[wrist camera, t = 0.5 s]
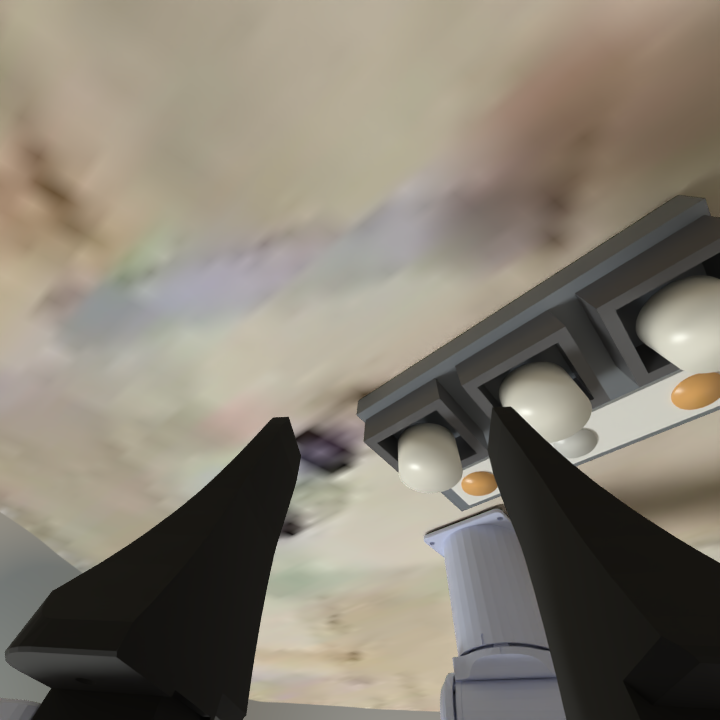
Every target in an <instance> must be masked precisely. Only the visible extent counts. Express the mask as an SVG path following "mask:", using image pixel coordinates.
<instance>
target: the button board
mask: <svg viewBox="0 0 720 720" xmlns="http://www.w3.org/2000/svg"><path fill="white" fill-rule="evenodd" d="M697 275H706V276H712V277H715V278H718V279H720V218H718V217H713V216H711V215H710V212H709V209H708V206H707V202H706V199H705V198H699V197H690V196H682V195H678V196H676V197H675V198H673V199H671V200H670V201H668V202H667V203H665V204H664V205H662V206H661V207H659V208H657V209H656V210H654V211H653V212H651V213H650V214H648V215H647V216H645V217H643V218H642V219H640V220H639V221H637V222H636V223H634V224H633V225H631V226H629V227H628V228H626V229H625V230H623V231H622V232H620V233H619V234H617V235H616V236H614V237H612V238H611V239H609V240H608V241H606V242H605V243H603V244H602V245H600V246H598V247H597V248H595V249H594V250H592V251H591V252H589V253H588V254H586V255H584V256H583V257H581V258H580V259H578V260H577V261H575V262H574V263H572V264H570V265H569V266H567V267H566V268H564V269H563V270H561V271H560V272H558V273H556V274H555V275H553V276H552V277H550V278H549V279H547V280H546V281H544V282H542V283H541V284H539V285H538V286H536V287H535V288H533V289H532V290H530V291H528V292H527V293H525V294H524V295H522V296H521V297H519V298H518V299H516V300H514V301H513V302H511V303H510V304H508V305H507V306H505V307H504V308H502V309H500V310H499V311H497V312H496V313H494V314H493V315H491V316H490V317H488V318H486V319H485V320H483V321H482V322H480V323H479V324H477V325H476V326H474V327H472V328H471V329H469V330H468V331H466V332H465V333H463V334H462V335H460V336H458V337H457V338H455V339H454V340H452V341H451V342H449V343H448V344H446V345H444V346H443V347H441V348H440V349H438V350H437V351H435V352H434V353H432V354H430V355H429V356H427V357H426V358H424V359H423V360H421V361H420V362H418V363H416V364H415V365H413V366H412V367H410V368H409V369H407V370H406V371H404V372H402V373H401V374H399V375H398V376H396V377H395V378H393V379H392V380H390V381H388V382H387V383H385V384H384V385H382V386H381V387H379V388H378V389H376V390H374V391H373V392H371V393H370V394H368V395H367V396H365V397H364V398H362V399H361V400H359V401H358V407H357V416H358V417H359V418H360V419H361V420H363V421H364V422H365V432H364V442H365V443H366V444H367V445H368V446H369V447H370V448H371V449H372V450H374V451H375V452H376V453H377V454H378V455H379V456H380V457H382V458H383V459H384V460H385V461H386V462H387V463H388V464H390V465H391V466H392V467H393V468H394V469H395V470H396V471H397V472H399V467H398V440H399V437H400V436H401V434H402V433H403V432H404V431H405V430H406V429H408V428H410V427H412V426H414V425H418V424H423V423H432V424H438V425H441V426H443V427H445V428H447V429H448V430H450V431H451V432H452V434H453V435H454V437H455V440H456V444H457V448H458V452H459V456H460V461H461V465H462V469H463V475H462V478H461V480H460V481H459V482H458V483H457V484H456V485H455V486H454V487H452V488H451V489H449V490H446V491H443V492H441V493H442V494H443V495H445V496H446V497H447V498H448V499H449V500H450V501H451V502H452V503H453V504H454V505H455V506H457V507H458V508H459V509H460V510H461V511H464V510H467V509H469V508H472V507H474V506H477V505H479V504H482V503H484V502H487V501H489V500H492V499H494V498H497V497H499V496H501V494H500V491H499V489H498V486H497V484H496V481H495V478H494V474H493V471H492V467H491V463H490V459H489V455H488V450H487V449H488V440H489V431H490V422H491V413H492V407H503V406H502V404H501V402H500V399H499V389H500V386H501V383H502V382H503V380H504V379H505V378H506V376H507V375H508V374H509V373H511V372H512V371H513V370H515V369H516V368H518V367H520V366H523V365H525V364H528V363H533V362H550V363H554V364H556V365H559V366H560V367H562V368H563V369H564V370H565V371H566V372H567V373H568V375H569V376H570V377H571V378H572V379H573V381H574V382H575V383H576V384H577V385H578V387H579V388H580V389H581V390H582V391H583V392H584V394H585V395H586V396H587V397H588V398H589V400H590V402H591V405H592V412H591V416H590V418H589V420H588V422H587V423H586V425H585V426H584V427H583V428H582V429H581V430H580V431H578V432H577V433H576V434H574V435H572V436H571V437H568V438H566V439H564V440H561V441H558V442H553V443H550V444H551V445H552V446H553V447H554V448H555V449H556V450H557V451H558V452H560V453H561V454H562V455H563V456H564V457H565V458H566V459H567V460H569V461H570V462H571V463H572V464H573V465H574V466H578V465H581V464H583V463H586V462H588V461H591V460H593V459H596V458H598V457H601V456H603V455H606V454H608V453H611V452H613V451H616V450H619V449H621V448H624V447H626V446H629V445H631V444H634V443H636V442H639V441H641V440H644V439H646V438H649V437H651V436H654V435H657V434H659V433H662V432H664V431H667V430H669V429H672V428H674V427H677V426H679V425H682V424H684V423H687V422H689V421H692V420H695V419H697V418H700V417H702V416H705V415H707V414H710V413H712V412H715V411H717V410H720V371H717V372H712V373H702V374H700V373H690V372H686V371H684V370H681V369H680V368H678V367H677V366H675V365H674V364H673V363H671V362H670V361H668V360H667V359H666V358H664V357H663V356H661V355H660V354H659V353H657V352H656V351H654V350H653V349H652V348H650V347H649V346H647V345H646V344H645V343H643V342H642V341H641V340H640V339H639V337H638V336H637V333H636V320H637V317H638V314H639V312H640V310H641V309H642V307H643V306H644V305H645V303H646V302H647V301H648V300H649V299H650V298H651V297H652V296H653V295H654V294H655V293H656V292H658V291H659V290H660V289H662V288H663V287H665V286H667V285H668V284H670V283H672V282H674V281H677V280H679V279H682V278H686V277H690V276H697Z"/></svg>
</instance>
